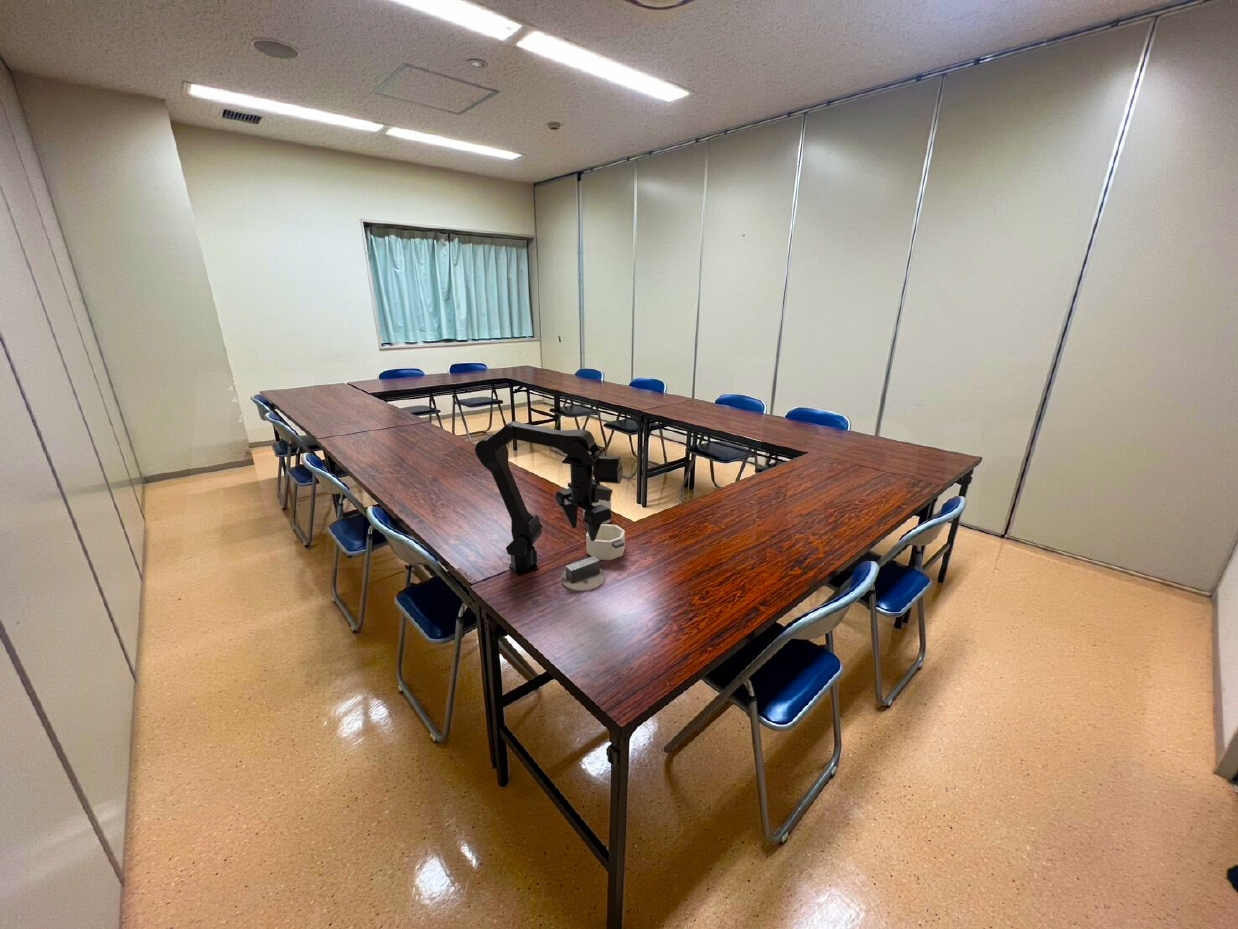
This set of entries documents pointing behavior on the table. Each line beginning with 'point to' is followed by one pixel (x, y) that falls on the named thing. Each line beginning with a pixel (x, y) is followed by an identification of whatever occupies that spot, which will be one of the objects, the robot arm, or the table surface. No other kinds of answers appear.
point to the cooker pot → (607, 542)
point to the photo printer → (604, 503)
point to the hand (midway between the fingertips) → (583, 534)
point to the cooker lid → (583, 575)
